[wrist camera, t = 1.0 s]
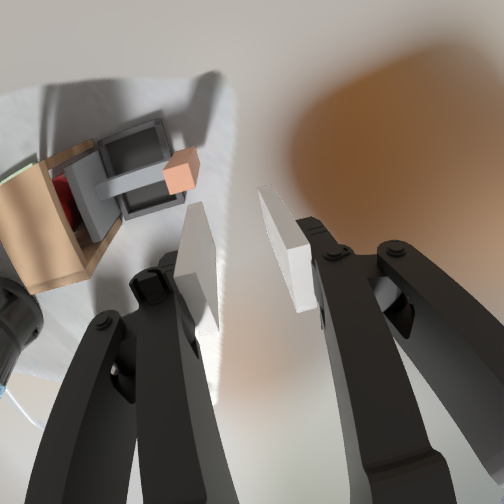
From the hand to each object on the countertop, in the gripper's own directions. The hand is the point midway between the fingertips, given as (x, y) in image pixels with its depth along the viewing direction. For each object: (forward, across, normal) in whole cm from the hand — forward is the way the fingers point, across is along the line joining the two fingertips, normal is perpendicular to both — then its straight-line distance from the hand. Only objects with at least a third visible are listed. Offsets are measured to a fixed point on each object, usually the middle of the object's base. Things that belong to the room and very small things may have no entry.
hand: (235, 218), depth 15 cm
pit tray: (+25, -11, 0) cm, 27 cm away
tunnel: (+25, -22, 0) cm, 33 cm away
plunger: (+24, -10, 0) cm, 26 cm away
